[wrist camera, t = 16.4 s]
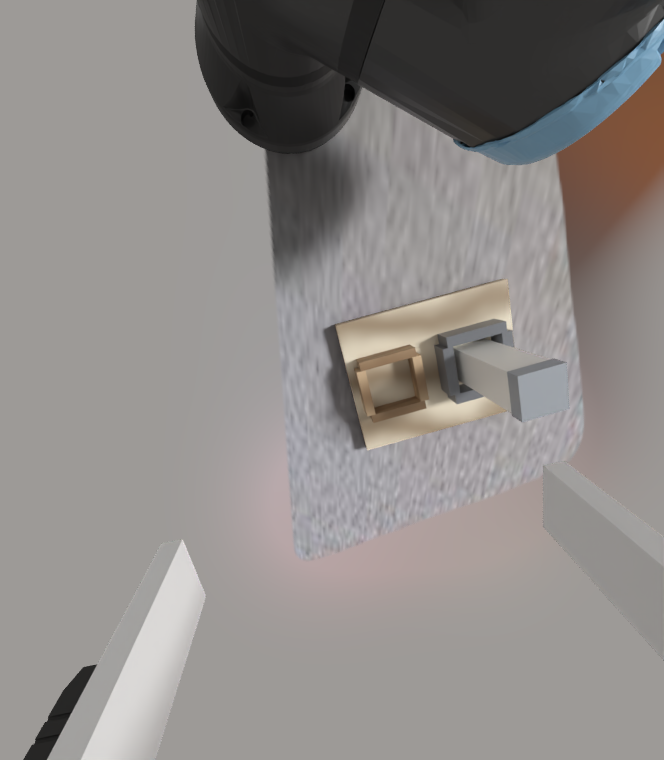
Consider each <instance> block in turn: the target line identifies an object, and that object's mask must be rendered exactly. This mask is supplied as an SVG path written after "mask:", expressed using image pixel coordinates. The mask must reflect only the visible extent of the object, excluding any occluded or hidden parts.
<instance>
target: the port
mask: <svg viewBox="0 0 664 760" xmlns="http://www.w3.org/2000/svg"><path fill="white" fill-rule="evenodd" d="M437 335H438V341H439V344H437V345H434V348H435V354H436V360H437V365H438V371H439V377H440V383H441V389H442V390H443V391H444V392H445V393H447V395H448V398H449V399H451V400H452V401H453V402H455V403H456V404H460V403H464V402H467V401H471V400H474V399H478V398H481V397H484V396H483V395H481V394H480V393H478V392H476V391H475V390H473V389H472V388H470V387H468V386H467V385H465V384H460V385H459V381H458V375H457V368H456V362H455V355H454V349H453V347H454V346H457V345H461V344H465V343H468V342H472V341H476V340H479V339H483V338H486V337H490V336H491V341H494V342H497V343H501V344H504V345H507V346H510V347H513V348H514V340H513V330H509V329H507V324H506V321H503V320H498V319H491V320H487V321H483V322H480V323H476V324H472V325H469V326H465V327H461V328H458V329H454V330H451V331H447V332H443V333H440V334H437Z"/></svg>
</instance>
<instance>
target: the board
mask: <svg viewBox="0 0 664 760" xmlns="http://www.w3.org/2000/svg"><path fill="white" fill-rule="evenodd" d="M491 319H498V320H503V321H506V324H507V329H509V330H513V328H512V318H511V308H510V298H509V288H508V279H500V280H496V281H492V282H489V283H485V284H481V285H478V286H474V287H470V288H467V289H463V290H459V291H456V292H452V293H448V294H445V295H441V296H437V297H434V298H430V299H426V300H423V301H419V302H415V303H412V304H408V305H404V306H401V307H397V308H393V309H390V310H386V311H382V312H379V313H375V314H371V315H368V316H364V317H360V318H357V319H353V320H349V321H346V322H342V323H338V324H335V327H336V331H337V335H338V339H339V343H340V347H341V351H342V355H343V359H344V363H345V367H346V371H347V375H348V379H349V382H350V386H351V390H352V394H353V398H354V402H355V406H356V410H357V414H358V418H359V422H360V426H361V430H362V434H363V438H364V442H365V445H366V448H367V450H370V449H374V448H378V447H381V446H385V445H388V444H392V443H395V442H399V441H403V440H406V439H410V438H413V437H417V436H420V435H424V434H427V433H431V432H435V431H438V430H442V429H445V428H449V427H452V426H456V425H460V424H463V423H467V422H470V421H474V420H477V419H481V418H484V417H488V416H492V415H495V414H499V413H502V412H506V411H507V410H505V409H503V408H502V407H500V406H499V405H497V404H495V403H494V402H492V401H491V400H489V399H487V398H486V397H481V398H478V399H474V400H471V401H467V402H464V403H460V404H456V403H455V402H453V401H452V400H451V399H449V398H448V395H447V393H445V392H444V391H443V390H442V389H441V383H440V377H439V371H438V365H437V360H436V354H435V348H434V345H437V344H439V341H438V335H437V334H440V333H443V332H447V331H451V330H454V329H458V328H461V327H465V326H469V325H472V324H476V323H480V322H483V321H487V320H491ZM485 339H488V340H491V336H490V337H486V338H485ZM513 340H514V338H513ZM468 343H469V342H468ZM409 344H410V345H411V346H413V347H415V350H416V352H417V353H419V354H420V355H421V357H422V363H423V368H424V374H425V379H426V384H427V390H428V395H429V400H425V403H426V409H423V410H419V411H415V412H412V413H408V414H405V415H401V416H398V417H394V418H390V419H387V420H383V421H380V422H376V423H373V421H372V420H371V418H370V416H368V417H367V415H366V413H365V411H364V408H363V404H362V400H361V395H360V391H359V387H358V383H357V379H356V375H355V371H354V368H357V367H358V365H357V361H356V359H358V358H362V357H366V356H369V355H373V354H376V353H380V352H384V351H387V350H391V349H395V348H398V347H402V346H406V345H409ZM457 346H458V345H457ZM365 371H366V375H367V379H368V384H369V388H370V392H371V396H372V400H373V405H374V408H375V407H378V406H382V405H385V404H389V403H392V402H396V401H400V400H403V399H407V398H410V397H414V396H415V392H414V387H413V382H412V377H411V372H410V367H409V362H408V359H405V360H401V361H398V362H394V363H391V364H387V365H383V366H380V367H376V368H372V369H369V370H365ZM458 381H459V380H458ZM460 384H464V383H462V382H460V381H459V385H460Z"/></svg>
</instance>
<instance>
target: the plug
mask: <svg viewBox="0 0 664 760" xmlns="http://www.w3.org/2000/svg"><path fill="white" fill-rule="evenodd" d="M453 349H454V355H455V362H456V368H457V375H458V380H459V381H460V382H462V383H464V384H465V385H467V386H468V387H470V388H472V389H473V390H475V391H476V392H478V393H480V394H481V395H483V396H484V397H486V398H487V399H489V400H491V401H492V402H494V403H495V404H497V405H499V406H500V407H502V408H503V409H505V410H507V411H508V412H510V413H511V414H512V416H513V417H515V418H516V419H518V420H519V421H521V422H525V421H529V420H532V419H536V418H539V417H543V416H546V415H550V414H553V413H557V412H560V411H564V410H567V409H570V408H569V391H568V375H567V362H563V361H560V360H557V359H548V358H545V357H542V356H539V355H536V354H532V353H529V352H526V351H523V350H520V349H517V348H513V347H510V346H507V345H504V344H501V343H497V342H494V341H491V340H488V339H485V338H483V339H479V340H476V341H472V342H469V343H465V344H461V345H458V346H454V347H453Z"/></svg>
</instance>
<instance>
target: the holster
mask: <svg viewBox="0 0 664 760" xmlns="http://www.w3.org/2000/svg"><path fill="white" fill-rule="evenodd" d="M405 359H408V362H409V367H410V372H411V377H412V382H413V387H414V392H415V396H414V397H410V398H407V399H403V400H400V401H396V402H392V403H389V404H385V405H382V406H378V407H375V408H374V405H373V400H372V396H371V392H370V388H369V384H368V379H367V375H366V371H365V370H369V369H372V368H376V367H380V366H383V365H387V364H391V363H394V362H398V361H401V360H405ZM356 361H357V365H358V367H357V368H354V371H355V375H356V379H357V383H358V387H359V391H360V395H361V400H362V404H363V408H364V411H365V413H366V415H367V417H368V416H370V418H371V420H372V421H373V423H376V422H380V421H383V420H387V419H390V418H394V417H398V416H401V415H405V414H408V413H412V412H415V411H419V410H423V409H426V403H425V400H429V395H428V390H427V384H426V379H425V374H424V368H423V363H422V357H421V355H420V354H419V353H417V352H416V350H415V347H413V346H411V345H410V344H409V345H406V346H402V347H398V348H395V349H391V350H387V351H384V352H380V353H376V354H373V355H369V356H366V357H362V358H358V359H356Z"/></svg>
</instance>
